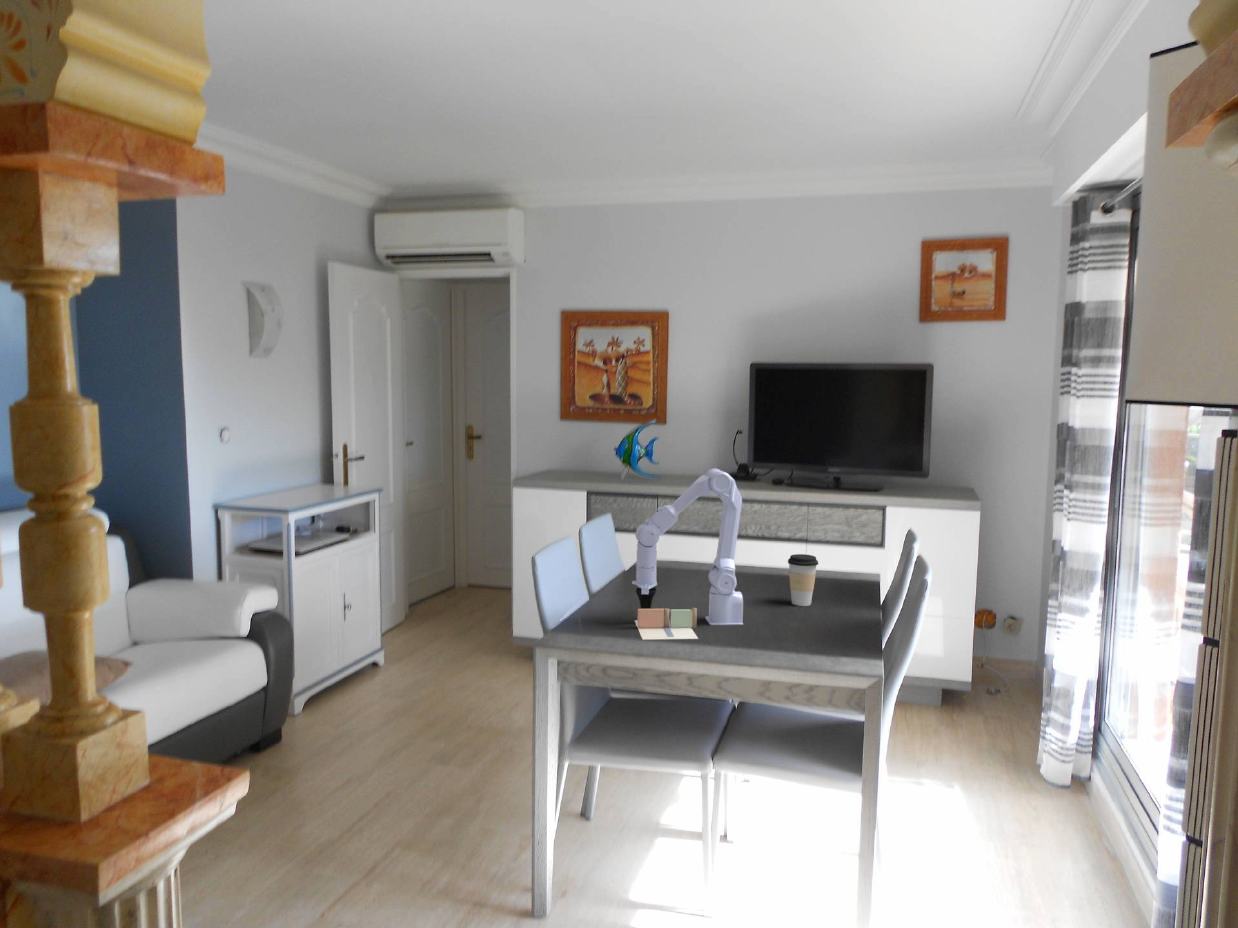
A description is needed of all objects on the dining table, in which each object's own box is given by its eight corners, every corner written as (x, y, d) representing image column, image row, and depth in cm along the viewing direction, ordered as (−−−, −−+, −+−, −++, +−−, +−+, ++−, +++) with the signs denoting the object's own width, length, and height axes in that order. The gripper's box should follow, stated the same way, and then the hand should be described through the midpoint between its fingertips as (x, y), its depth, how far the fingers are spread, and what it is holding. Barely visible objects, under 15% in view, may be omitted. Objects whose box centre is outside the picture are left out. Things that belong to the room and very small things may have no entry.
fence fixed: (695, 626, 247) (696, 607, 247) (697, 627, 246) (697, 608, 245) (669, 626, 246) (670, 607, 246) (670, 628, 245) (671, 609, 244)
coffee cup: (782, 605, 274) (784, 557, 272) (790, 598, 282) (792, 552, 281) (813, 608, 270) (814, 560, 268) (819, 602, 278) (821, 555, 277)
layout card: (685, 620, 254) (685, 619, 254) (698, 639, 235) (698, 637, 235) (634, 621, 253) (634, 619, 253) (642, 640, 234) (642, 638, 234)
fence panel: (668, 625, 247) (669, 608, 246) (669, 627, 245) (670, 609, 244) (637, 625, 246) (637, 608, 245) (638, 627, 244) (638, 610, 243)
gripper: (633, 560, 257) (633, 606, 258) (630, 571, 242) (630, 619, 244) (658, 561, 256) (657, 607, 257) (656, 572, 242) (655, 620, 243)
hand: (645, 613), depth 250 cm, fingers closed
